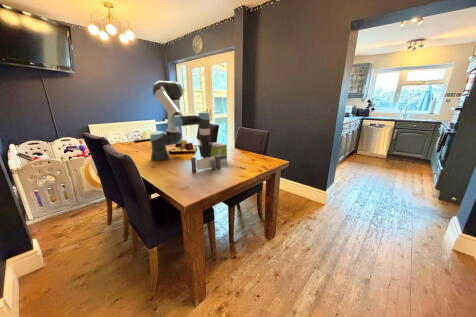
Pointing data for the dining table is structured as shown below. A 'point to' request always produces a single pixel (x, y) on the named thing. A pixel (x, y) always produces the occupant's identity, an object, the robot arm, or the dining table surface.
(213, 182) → the dining table surface
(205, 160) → the cream flat block
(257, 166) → the dining table surface
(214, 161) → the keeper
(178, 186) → the dining table surface
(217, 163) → the post
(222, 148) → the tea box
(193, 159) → the hinge post
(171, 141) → the robot arm
